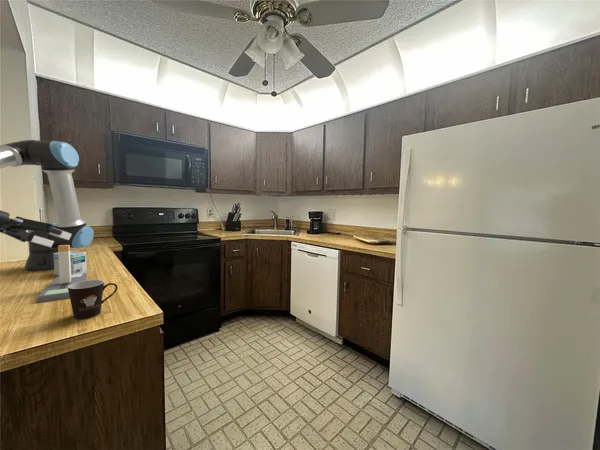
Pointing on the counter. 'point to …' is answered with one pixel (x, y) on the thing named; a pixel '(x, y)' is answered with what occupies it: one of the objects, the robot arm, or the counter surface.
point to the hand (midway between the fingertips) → (61, 240)
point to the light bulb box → (73, 263)
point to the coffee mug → (87, 298)
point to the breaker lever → (64, 263)
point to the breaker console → (59, 288)
